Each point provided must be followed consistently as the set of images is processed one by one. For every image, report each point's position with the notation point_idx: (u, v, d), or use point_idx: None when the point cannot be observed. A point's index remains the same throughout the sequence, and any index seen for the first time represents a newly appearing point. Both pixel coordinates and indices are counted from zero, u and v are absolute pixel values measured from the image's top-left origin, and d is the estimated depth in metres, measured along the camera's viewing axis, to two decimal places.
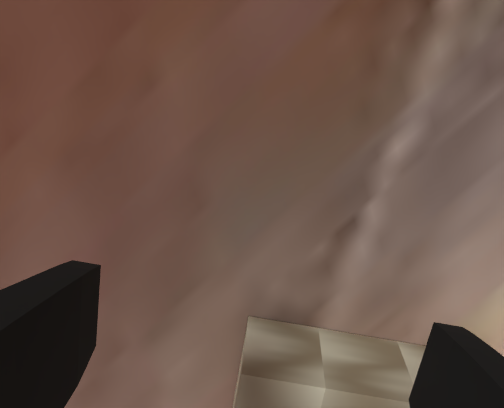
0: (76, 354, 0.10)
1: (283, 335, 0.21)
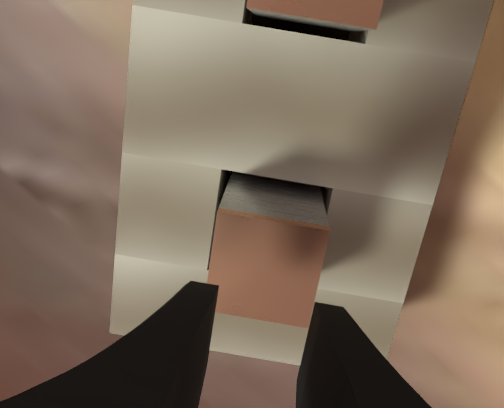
0: (201, 376, 0.09)
1: None
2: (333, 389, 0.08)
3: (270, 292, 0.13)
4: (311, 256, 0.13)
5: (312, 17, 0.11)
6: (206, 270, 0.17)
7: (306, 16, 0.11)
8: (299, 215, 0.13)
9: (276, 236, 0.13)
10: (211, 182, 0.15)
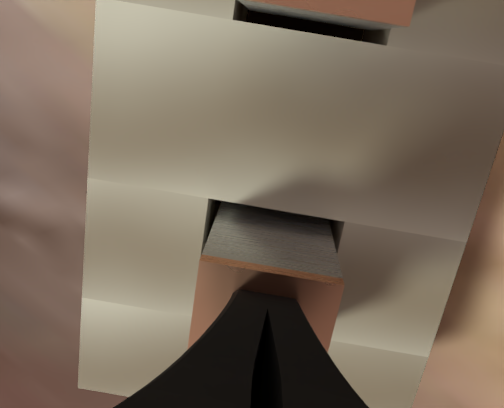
0: (251, 384, 0.09)
1: None
2: (270, 378, 0.08)
3: None
4: (320, 316, 0.10)
5: (323, 10, 0.08)
6: (191, 317, 0.14)
7: (315, 9, 0.08)
8: (304, 262, 0.11)
9: (275, 291, 0.10)
10: (197, 214, 0.13)
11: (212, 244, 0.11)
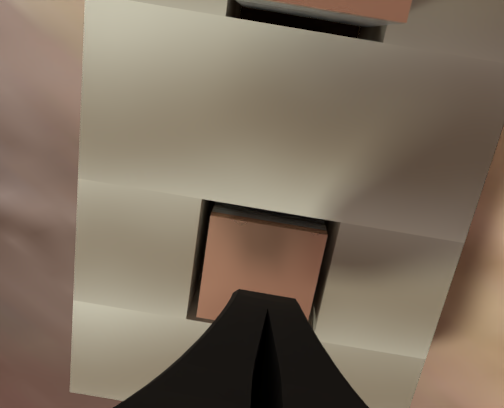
0: (251, 384, 0.09)
1: None
2: (270, 378, 0.08)
3: None
4: (307, 261, 0.12)
5: (317, 6, 0.08)
6: (184, 320, 0.14)
7: (309, 5, 0.08)
8: (295, 219, 0.13)
9: (271, 241, 0.12)
10: (190, 215, 0.12)
11: (220, 205, 0.13)
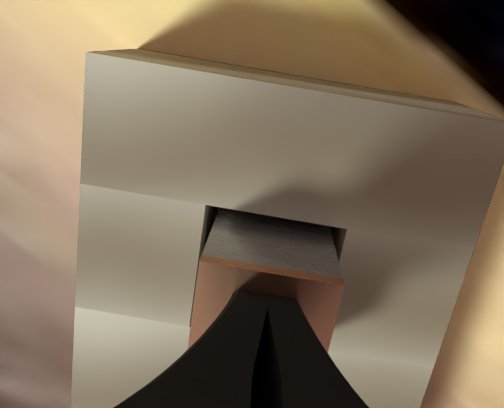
0: (251, 384, 0.09)
1: None
2: (270, 378, 0.08)
3: None
4: None
5: None
6: None
7: None
8: None
9: None
10: None
11: None
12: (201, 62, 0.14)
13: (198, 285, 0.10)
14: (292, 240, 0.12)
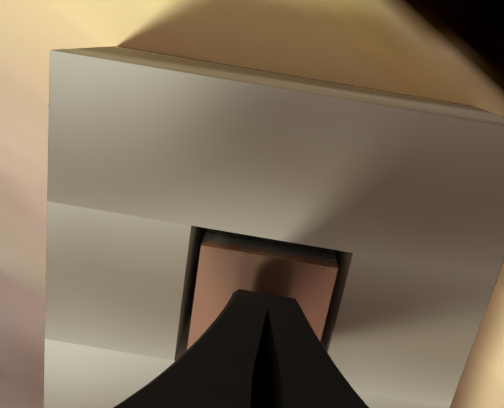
0: (251, 384, 0.09)
1: None
2: (270, 378, 0.08)
3: None
4: None
5: None
6: None
7: None
8: None
9: None
10: None
11: None
12: (187, 61, 0.12)
13: (200, 268, 0.11)
14: None
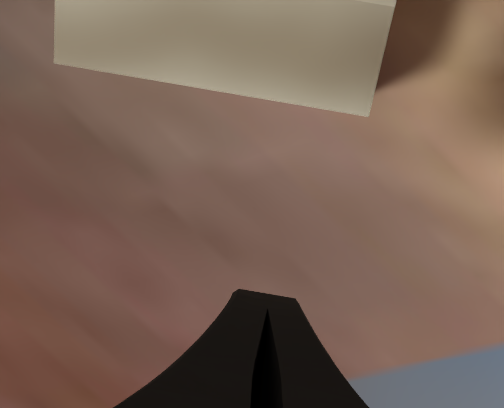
0: (251, 384, 0.09)
1: None
2: (270, 378, 0.08)
3: None
4: None
5: None
6: None
7: None
8: None
9: None
10: None
11: None
12: None
13: None
14: None
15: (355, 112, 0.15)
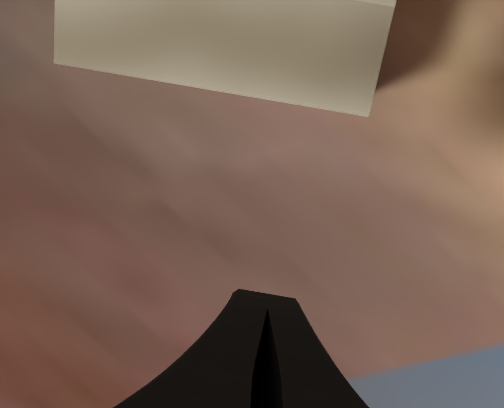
0: (251, 384, 0.09)
1: None
2: (270, 378, 0.08)
3: None
4: None
5: None
6: None
7: None
8: None
9: None
10: None
11: None
12: None
13: None
14: None
15: (355, 112, 0.15)
